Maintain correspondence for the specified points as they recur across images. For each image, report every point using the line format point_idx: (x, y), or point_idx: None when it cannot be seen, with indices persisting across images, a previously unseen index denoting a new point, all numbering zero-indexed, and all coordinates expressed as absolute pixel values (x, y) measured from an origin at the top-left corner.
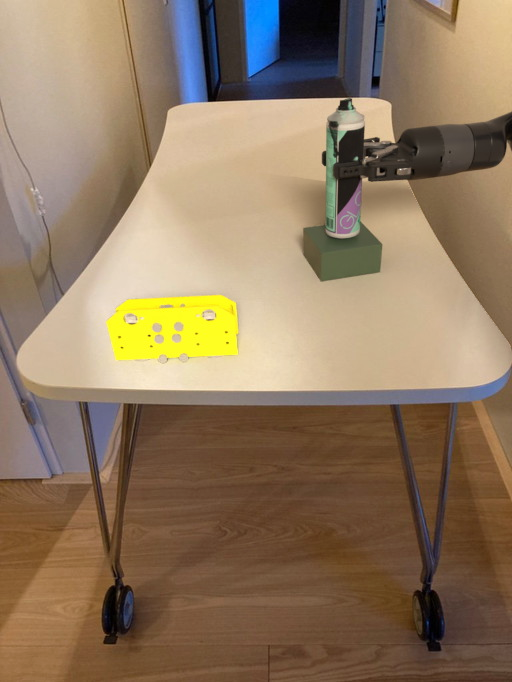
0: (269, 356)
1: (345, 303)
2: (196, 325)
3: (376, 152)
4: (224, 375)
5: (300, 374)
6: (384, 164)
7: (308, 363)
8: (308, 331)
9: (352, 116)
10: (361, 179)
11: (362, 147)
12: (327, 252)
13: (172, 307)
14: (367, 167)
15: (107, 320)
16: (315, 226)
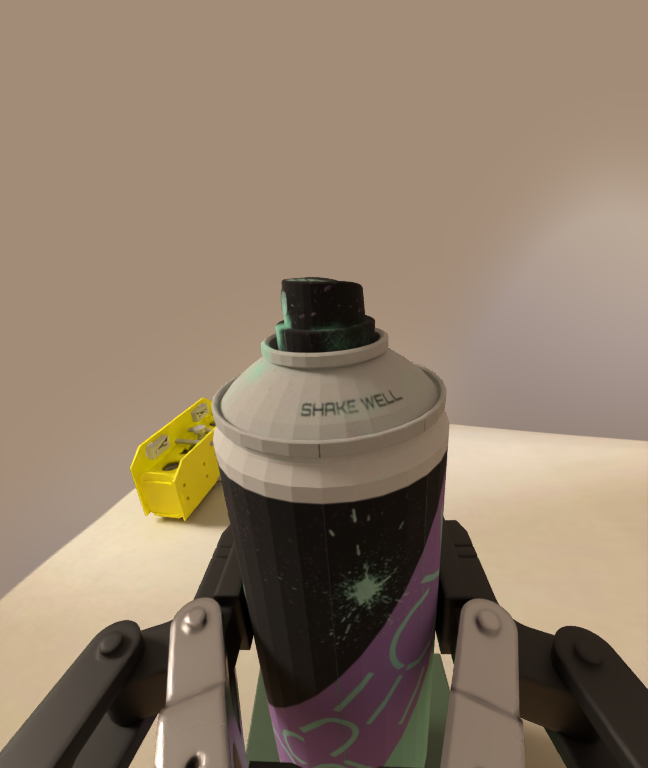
0: (122, 553)
1: (146, 741)
2: (163, 452)
3: (211, 725)
4: (134, 507)
5: (54, 580)
6: (30, 717)
7: (61, 596)
8: (126, 619)
9: (242, 376)
10: (285, 723)
11: (257, 591)
12: (258, 677)
13: (173, 420)
14: (145, 631)
15: (211, 401)
16: (448, 699)
